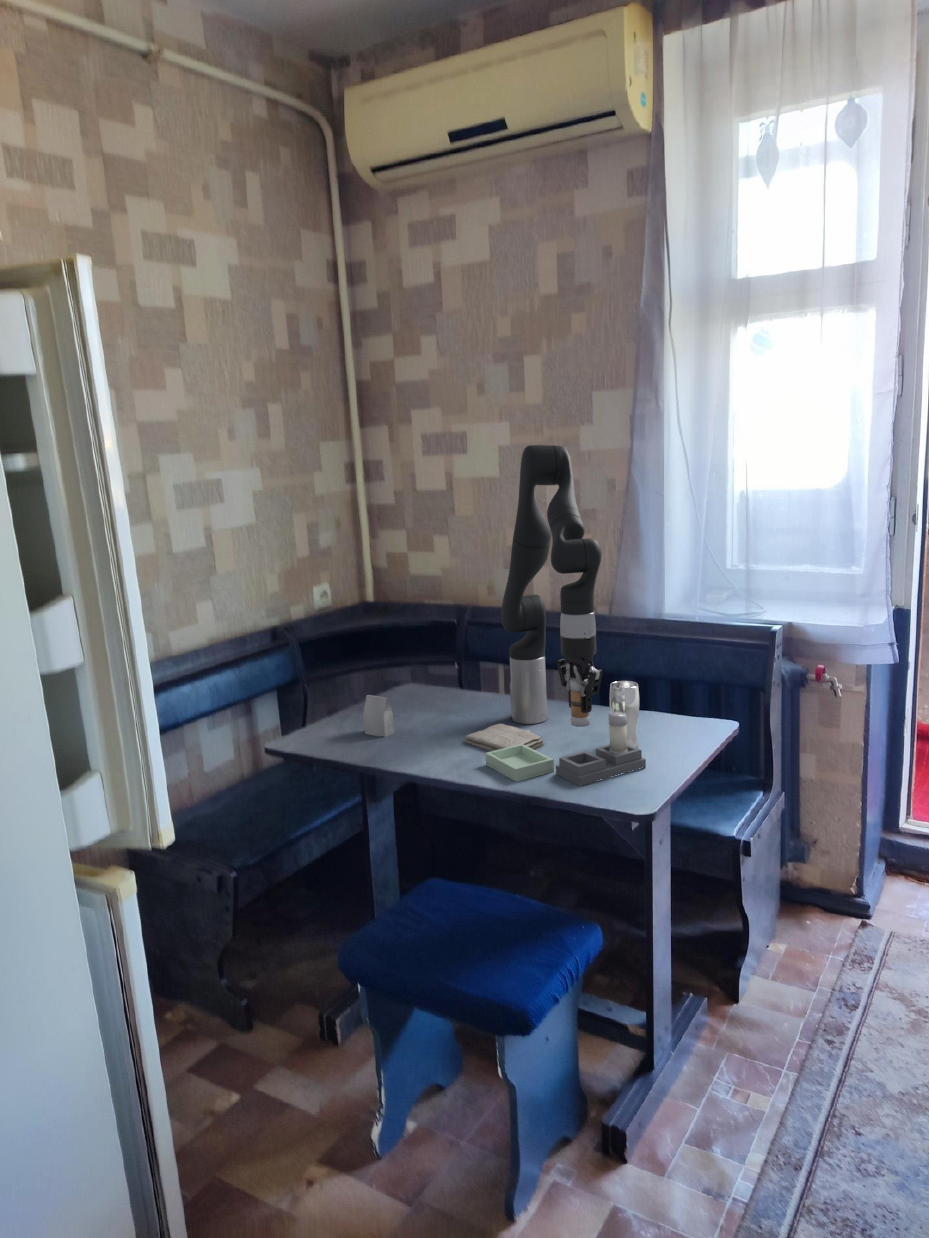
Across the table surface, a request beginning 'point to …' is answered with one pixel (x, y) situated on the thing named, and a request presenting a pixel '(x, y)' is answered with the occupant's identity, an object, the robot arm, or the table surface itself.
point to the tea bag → (378, 716)
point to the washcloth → (503, 738)
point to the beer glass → (626, 706)
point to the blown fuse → (577, 705)
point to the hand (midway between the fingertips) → (580, 709)
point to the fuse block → (598, 764)
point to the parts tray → (519, 762)
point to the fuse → (618, 732)
